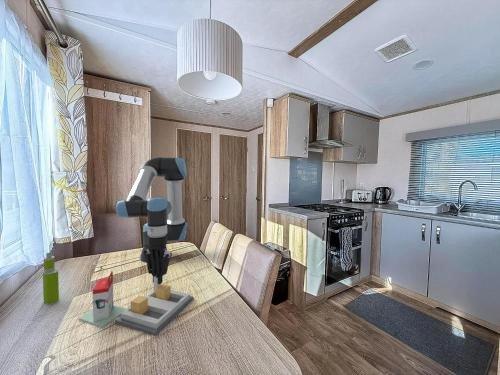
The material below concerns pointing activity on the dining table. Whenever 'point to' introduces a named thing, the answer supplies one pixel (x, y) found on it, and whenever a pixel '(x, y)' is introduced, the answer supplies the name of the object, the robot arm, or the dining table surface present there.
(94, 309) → the ink box
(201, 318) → the dining table surface
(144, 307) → the light orange block
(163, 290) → the tan block
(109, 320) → the rest pad
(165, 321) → the grey divided tray
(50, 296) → the vape
